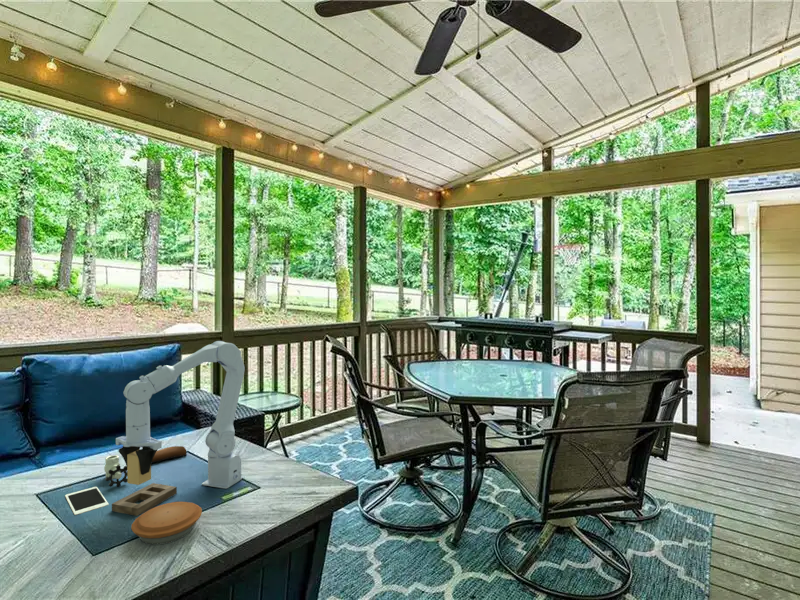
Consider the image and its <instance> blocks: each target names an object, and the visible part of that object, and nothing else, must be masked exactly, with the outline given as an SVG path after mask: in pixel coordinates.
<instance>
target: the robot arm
mask: <svg viewBox="0 0 800 600" xmlns="http://www.w3.org/2000/svg"><path fill="white" fill-rule="evenodd" d="M243 360H244V359H243V358H242V351H241V349H240V348H238V346H236V344H235V343H232V342H225V341H223V340H216V341H214V342H213V343H211V344H210V343H209V344H207V345H205V346H203V347H202V348H200V349H198V350H197V351H195V352H193V353H192V354H190V355H188V356H187V357H185V358H183V359H181V360H180V361H178V362H177V363H175V364H173V365H167V364H166V365H165V364H164V365H163V366H162V365H158V366H157V367H155V368H156V369H155V370H153V371H152V372H149V373H148V374H145V375H140V376H139V379H137V380H132V381H130V382H129V383H127V384H126V386H125V387H124V390H123V391H122V392H123V396H124V397H125V399H126V401H125V402H126V403H125V435H122V436H118V437H116V438H115V445H116V446H120V445H121V446H122V447H120V448H118V453H119V454H120V456H121V457H122V459H123V460H124V463H125V466H127V454H130V453H132V452H135V451H136V454H137V456H138V459H139V463H140V472H141V475H144V474H146V473H148V472H149V470H150V466H151V467H152V463H153V462H152V460H153V457H154V455H155V453H156V451H158V450H161V449H163V448H162V446H163V444H162V443H163V441H162V440H158V439H156V438H155V437H154V438H153V437H152V436H151V413H150V412H151V408H150V407H151V406H150V400H151V398H152V396H153V395H155V394H156V393H159V392H160V391H162V390H164V389H166V388H167V387H169V386H171V385H173V384H174V383H176V382H177V380H178V377H179V376H180V375H181V374H184V373H186V372H187V371H190V370H192V369H194V368H196V367H198V366H199V365H201V364H203V363H217V362H218V364H220V365H221V367H222V368H223V369H224V371H225V372H226V373H225V378H224V383H223V387H222V391H221V396H220V400H219V404H218V405H219V406H218V409H217V414H216V419H215V421H214V423H213V424H212V425H211V428H210V430H209V432H208V433H207V434H206V437H205V440H204V441H205V445H206V447H207V448H208V452H207V480H205V481H204V482H202V483H201V485H202V486H206V487H207V486H208V487H213V488H219V489H225V490H226V489H229V488H230V487H232V486H234V485H235V484H236V483H238V482H239V481H241V480H242V479H244V476H242V458H241V456H240V455H237V454H235V453H234V452H233V451H234V449H235V448H236V440H235V434H236V432H235V431H236V430H235V427H234V421H235V416H236V411H237V407H238V403H239V398H240V394H241V389H242V384H243V380H244V376H245V369H246V368H245V364H244V361H243ZM137 450H138V451H137Z"/></svg>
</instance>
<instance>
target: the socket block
mask: <svg viewBox="0 0 800 600" xmlns="http://www.w3.org/2000/svg"><path fill="white" fill-rule="evenodd" d="M177 491H178V490H177V486H173V485H166V484H160V483H155V482H153V483H151V484H148V485H147V486H144V487H143V488H141V489H138V490H136V491H134V492H132V493H130V494H129V495H127V496H125V497H122V498H120V499H118V500H116V501H115V502H112V503H111V512H115V513H119V514H124V515H125V514H126V515H129V516H135V517H139V516H140V515H142V514H143V513H145V512H146V511H148V510H150V509H152V508H154V507H157V506H158V505H160V504H161V503H163V502H164V501H167V500H168V499H170V498H171V496H172V497H173V496H175V495H177V494H178V492H177ZM139 501H141V502H139ZM138 502H139V503H138Z"/></svg>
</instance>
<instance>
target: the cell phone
mask: <svg viewBox="0 0 800 600" xmlns="http://www.w3.org/2000/svg"><path fill="white" fill-rule="evenodd" d="M64 498H65V499H66V501H67V503H68V505H69V507H70V509H71V511H72V513H73V515H74V516H77V515H81V514H83V513H87V512H91V511H94V510H97V509H102V508H105V507H107V506H109V505H110V504H109V502H108V501H107V499H106V498H105V496H104V495H103V494H102V491H100V489H99V488H98V486H93V487H89V488H85V489H82V490H78V491H75V492H71V493H70V492H69V493H67V494H65V495H64Z"/></svg>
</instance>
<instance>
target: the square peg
mask: <svg viewBox="0 0 800 600" xmlns="http://www.w3.org/2000/svg"><path fill="white" fill-rule="evenodd" d="M137 451H138V450H137ZM126 472H127V477H126V479H128V482H127V484H128V485H129V484H131V485H137V486H140V485H142V484H144V483H146V482H148V481H150V480H152V465H151V466H150V470H149V472H148V473H146V474H144V475H141V472H140V463H139V459H138V456H137V454H136V451H135V452H132V453H130V454H127V470H126Z"/></svg>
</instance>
